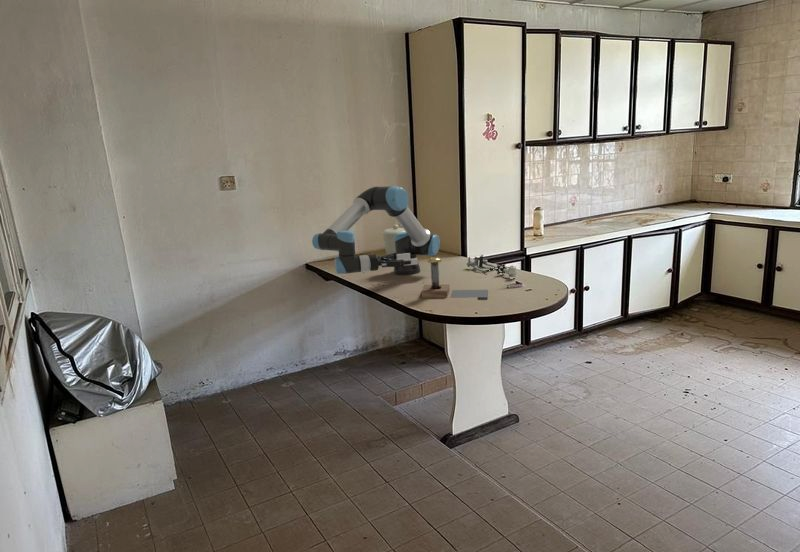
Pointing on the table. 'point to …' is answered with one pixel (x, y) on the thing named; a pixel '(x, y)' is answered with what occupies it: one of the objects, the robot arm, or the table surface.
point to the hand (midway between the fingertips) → (413, 258)
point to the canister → (391, 238)
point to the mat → (470, 294)
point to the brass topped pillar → (434, 271)
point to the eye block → (435, 291)
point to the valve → (507, 270)
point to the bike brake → (480, 264)
